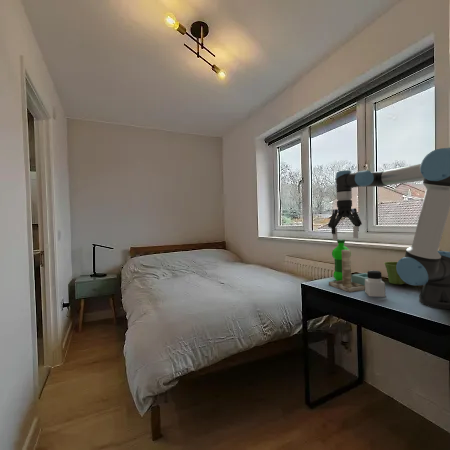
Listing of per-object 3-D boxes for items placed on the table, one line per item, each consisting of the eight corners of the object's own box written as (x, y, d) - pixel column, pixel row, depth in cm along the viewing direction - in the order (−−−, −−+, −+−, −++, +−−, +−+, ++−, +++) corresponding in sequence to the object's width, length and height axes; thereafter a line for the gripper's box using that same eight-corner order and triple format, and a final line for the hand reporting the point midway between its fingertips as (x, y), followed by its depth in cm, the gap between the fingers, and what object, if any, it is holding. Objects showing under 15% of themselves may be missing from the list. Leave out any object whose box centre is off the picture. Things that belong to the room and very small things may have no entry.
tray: (366, 290, 143) (366, 286, 142) (349, 293, 139) (349, 288, 139) (344, 283, 158) (344, 279, 158) (328, 285, 154) (328, 281, 154)
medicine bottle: (385, 297, 130) (385, 272, 129) (369, 297, 131) (368, 272, 131) (380, 293, 137) (379, 269, 136) (364, 293, 138) (364, 269, 138)
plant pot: (414, 285, 147) (414, 264, 146) (392, 286, 147) (391, 265, 146) (400, 280, 158) (400, 261, 158) (380, 281, 159) (379, 262, 158)
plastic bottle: (332, 283, 160) (330, 240, 159) (334, 278, 169) (333, 238, 168) (350, 284, 155) (349, 240, 154) (352, 280, 164) (351, 238, 163)
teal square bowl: (379, 287, 147) (379, 276, 146) (365, 289, 144) (365, 278, 144) (365, 283, 156) (365, 272, 156) (351, 285, 153) (351, 274, 153)
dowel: (353, 287, 147) (352, 250, 146) (346, 288, 146) (345, 251, 145) (347, 285, 151) (346, 249, 150) (340, 286, 150) (339, 250, 149)
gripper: (357, 199, 154) (358, 237, 155) (320, 201, 147) (321, 240, 147) (368, 198, 147) (369, 237, 148) (329, 200, 139) (331, 241, 140)
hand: (345, 239), depth 147 cm, fingers open, 13 cm apart
